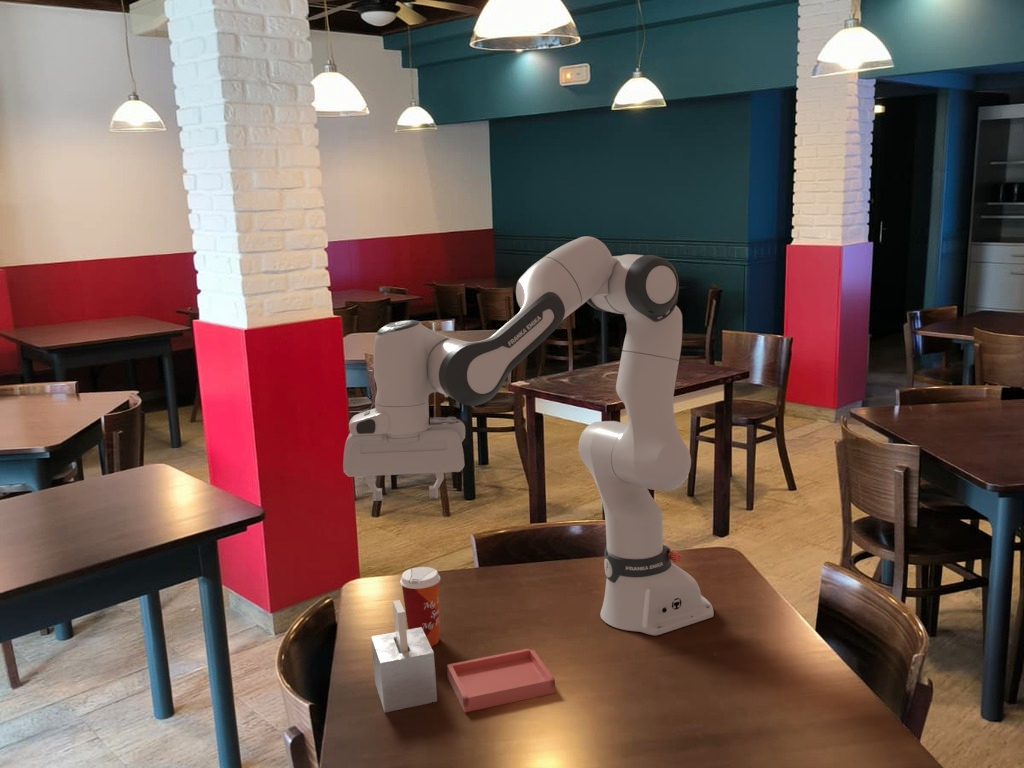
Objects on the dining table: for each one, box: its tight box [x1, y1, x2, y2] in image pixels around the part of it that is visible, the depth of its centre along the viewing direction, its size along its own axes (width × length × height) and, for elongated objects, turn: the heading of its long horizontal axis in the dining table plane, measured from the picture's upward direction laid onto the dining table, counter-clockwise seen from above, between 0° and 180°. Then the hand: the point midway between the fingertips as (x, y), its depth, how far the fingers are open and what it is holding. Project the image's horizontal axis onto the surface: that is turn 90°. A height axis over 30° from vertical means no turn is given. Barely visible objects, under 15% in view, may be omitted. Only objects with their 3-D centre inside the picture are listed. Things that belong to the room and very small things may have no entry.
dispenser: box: [370, 627, 438, 713], centre depth 153 cm, size 9×10×9 cm
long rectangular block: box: [392, 599, 408, 653], centre depth 152 cm, size 1×5×12 cm, turn 17°
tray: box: [446, 647, 556, 713], centre depth 155 cm, size 16×12×2 cm
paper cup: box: [399, 566, 441, 648], centre depth 171 cm, size 8×8×14 cm
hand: (405, 498), depth 151 cm, fingers open, 8 cm apart
